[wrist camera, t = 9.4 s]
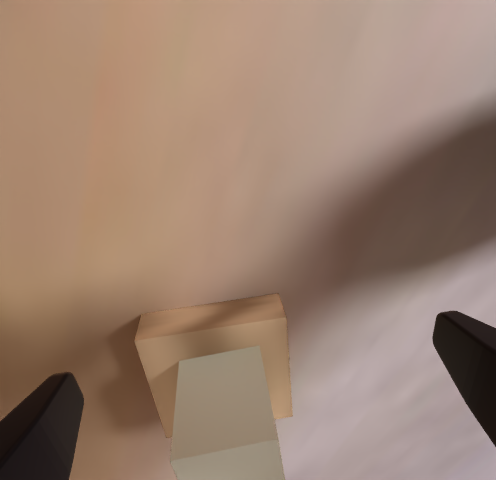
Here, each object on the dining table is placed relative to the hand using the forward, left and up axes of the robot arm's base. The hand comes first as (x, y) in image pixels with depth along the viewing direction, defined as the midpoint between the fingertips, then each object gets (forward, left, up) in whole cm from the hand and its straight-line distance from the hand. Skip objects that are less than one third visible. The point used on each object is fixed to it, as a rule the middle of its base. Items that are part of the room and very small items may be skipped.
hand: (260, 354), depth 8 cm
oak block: (+2, +12, -13) cm, 17 cm away
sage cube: (+2, +12, -10) cm, 15 cm away
